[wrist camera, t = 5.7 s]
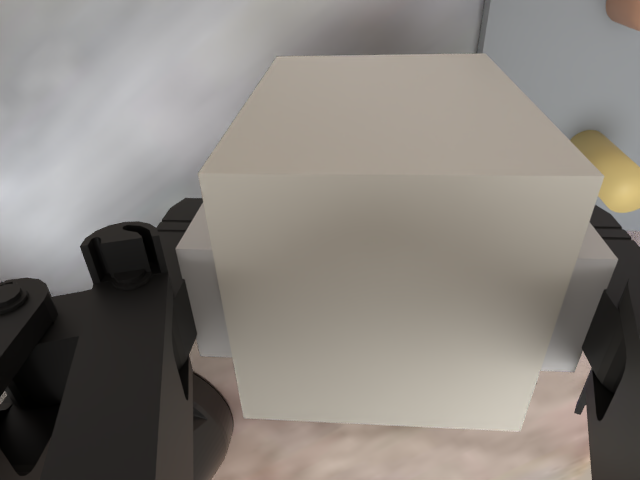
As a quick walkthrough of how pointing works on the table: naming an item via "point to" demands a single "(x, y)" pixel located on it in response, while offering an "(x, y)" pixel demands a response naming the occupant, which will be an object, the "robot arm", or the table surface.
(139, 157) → the table surface
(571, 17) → the board
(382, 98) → the cream rectangular block
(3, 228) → the table surface
